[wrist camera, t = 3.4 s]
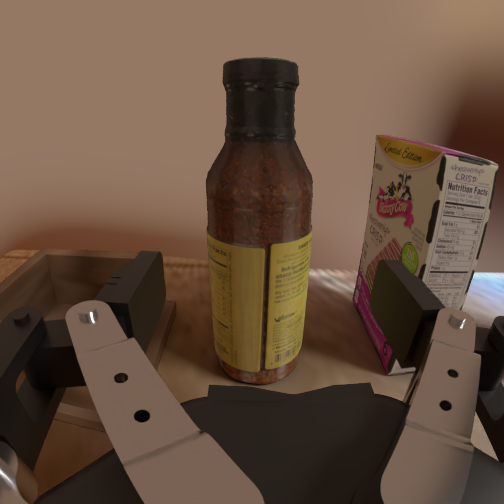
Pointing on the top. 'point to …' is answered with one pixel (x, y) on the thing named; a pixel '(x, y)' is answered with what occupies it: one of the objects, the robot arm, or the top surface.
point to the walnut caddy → (66, 296)
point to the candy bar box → (423, 224)
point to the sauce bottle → (259, 224)
